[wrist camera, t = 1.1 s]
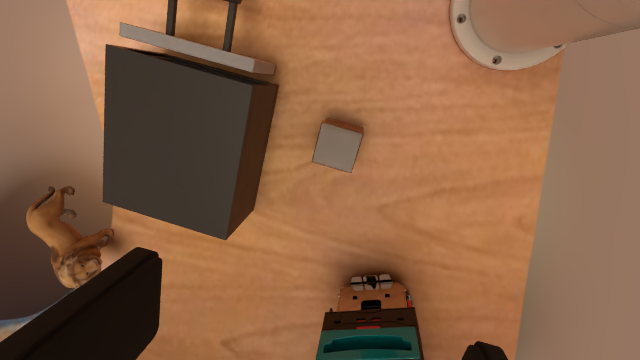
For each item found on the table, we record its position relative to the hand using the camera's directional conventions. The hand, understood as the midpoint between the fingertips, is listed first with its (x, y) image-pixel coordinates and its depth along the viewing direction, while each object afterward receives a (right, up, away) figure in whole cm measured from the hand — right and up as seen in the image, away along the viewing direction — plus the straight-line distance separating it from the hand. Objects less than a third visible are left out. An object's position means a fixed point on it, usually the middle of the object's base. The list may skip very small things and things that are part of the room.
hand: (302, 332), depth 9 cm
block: (+3, +9, +27) cm, 29 cm away
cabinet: (-13, +10, +29) cm, 34 cm away
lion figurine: (-33, -2, +36) cm, 49 cm away
